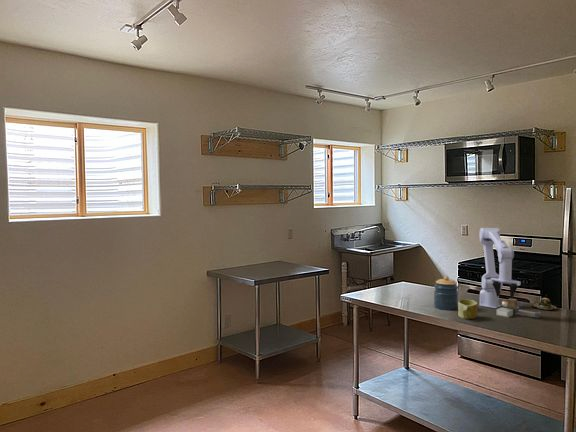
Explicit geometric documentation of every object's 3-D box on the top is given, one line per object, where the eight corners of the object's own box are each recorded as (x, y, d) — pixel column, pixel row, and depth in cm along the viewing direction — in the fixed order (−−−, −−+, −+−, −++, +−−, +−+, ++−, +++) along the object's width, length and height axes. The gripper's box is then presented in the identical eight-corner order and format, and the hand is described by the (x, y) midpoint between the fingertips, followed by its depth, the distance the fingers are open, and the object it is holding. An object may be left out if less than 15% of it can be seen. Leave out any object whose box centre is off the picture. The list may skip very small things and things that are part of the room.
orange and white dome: (501, 305, 236) (501, 301, 236) (503, 304, 238) (503, 300, 238) (506, 306, 235) (506, 301, 234) (508, 305, 236) (508, 301, 236)
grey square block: (496, 315, 237) (496, 309, 237) (501, 313, 241) (501, 307, 241) (508, 317, 232) (508, 311, 232) (512, 315, 236) (513, 309, 236)
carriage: (504, 312, 241) (505, 299, 241) (509, 310, 245) (509, 297, 245) (514, 314, 238) (514, 301, 237) (519, 311, 242) (519, 299, 241)
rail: (501, 311, 243) (501, 307, 243) (505, 310, 247) (505, 305, 246) (537, 318, 230) (537, 313, 230) (541, 316, 233) (541, 311, 233)
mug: (459, 309, 242) (463, 293, 238) (477, 318, 236) (483, 302, 232) (449, 318, 233) (454, 302, 229) (468, 327, 227) (474, 311, 223)
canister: (460, 310, 246) (460, 278, 245) (435, 309, 248) (435, 277, 248) (456, 305, 258) (456, 274, 258) (432, 304, 261) (432, 273, 260)
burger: (527, 307, 254) (527, 294, 253) (542, 305, 258) (543, 292, 257) (546, 312, 242) (546, 298, 242) (562, 310, 247) (562, 296, 246)
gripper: (487, 270, 238) (487, 296, 239) (516, 274, 227) (516, 300, 228) (493, 268, 243) (493, 294, 244) (522, 272, 232) (522, 298, 233)
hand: (504, 297), depth 236 cm, fingers open, 6 cm apart
